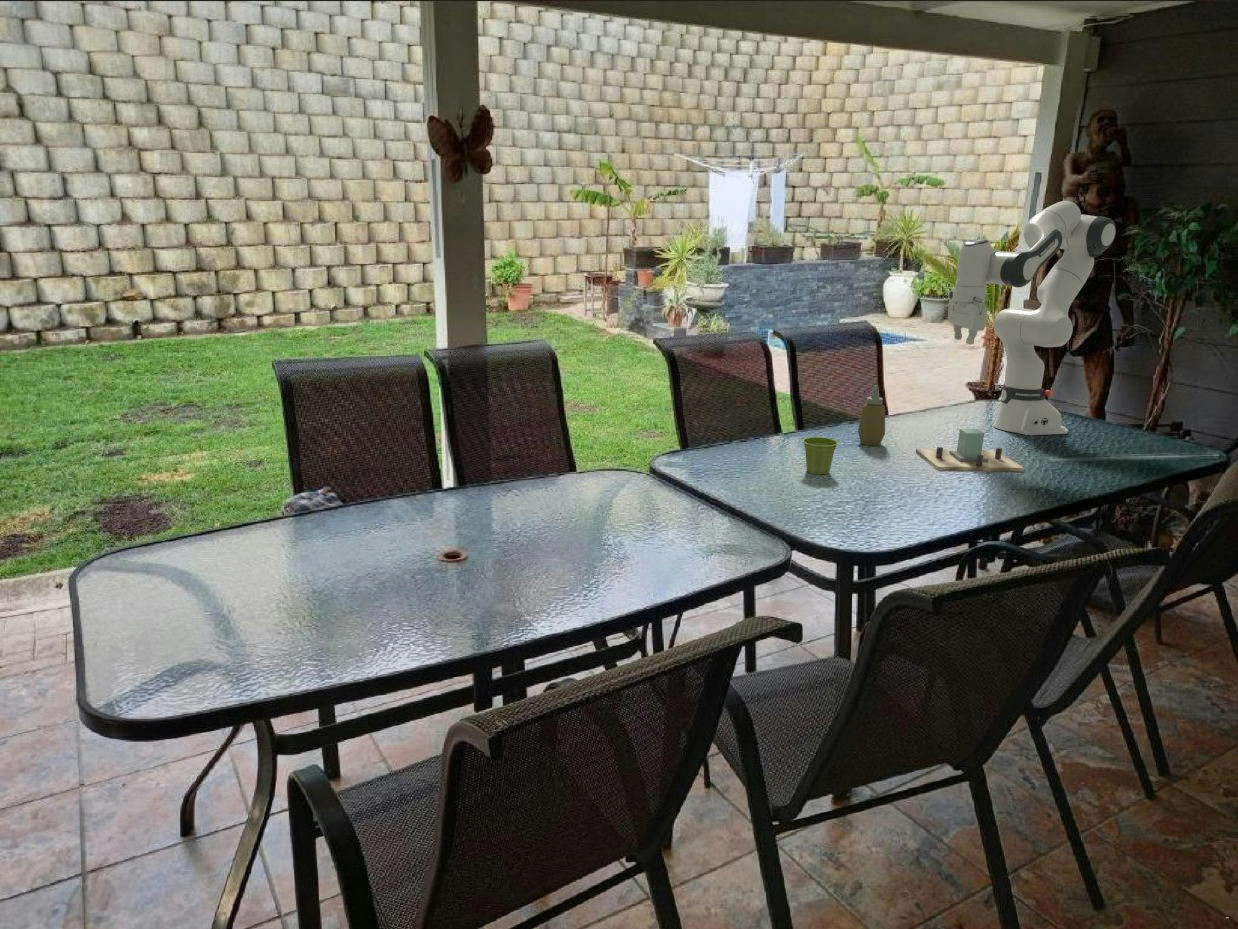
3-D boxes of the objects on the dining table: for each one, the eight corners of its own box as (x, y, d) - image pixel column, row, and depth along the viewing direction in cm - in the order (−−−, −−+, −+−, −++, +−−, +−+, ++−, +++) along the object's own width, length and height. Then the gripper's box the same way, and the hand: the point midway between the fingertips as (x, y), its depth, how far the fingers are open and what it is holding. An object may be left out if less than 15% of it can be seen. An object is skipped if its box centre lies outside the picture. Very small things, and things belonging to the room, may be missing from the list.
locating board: (996, 453, 256) (997, 440, 255) (1023, 471, 239) (1025, 457, 238) (915, 452, 256) (917, 439, 255) (937, 470, 239) (939, 456, 238)
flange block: (976, 454, 251) (980, 427, 249) (987, 462, 244) (991, 434, 241) (949, 453, 251) (952, 427, 249) (959, 461, 244) (963, 434, 241)
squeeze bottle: (887, 447, 261) (893, 389, 256) (860, 447, 261) (866, 388, 256) (879, 440, 269) (885, 383, 263) (853, 440, 269) (859, 383, 263)
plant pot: (795, 473, 234) (798, 442, 231) (805, 464, 242) (808, 435, 239) (830, 479, 230) (833, 447, 227) (839, 470, 238) (841, 439, 235)
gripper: (994, 299, 248) (988, 347, 252) (966, 292, 267) (961, 336, 271) (972, 299, 248) (966, 346, 252) (946, 292, 267) (941, 336, 271)
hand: (963, 341), depth 262 cm, fingers open, 8 cm apart
